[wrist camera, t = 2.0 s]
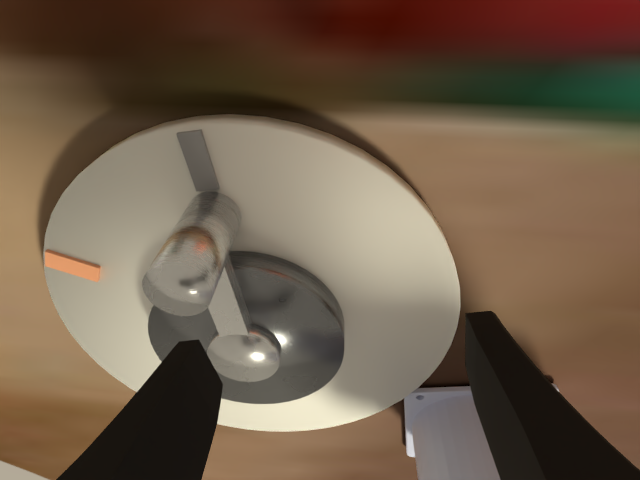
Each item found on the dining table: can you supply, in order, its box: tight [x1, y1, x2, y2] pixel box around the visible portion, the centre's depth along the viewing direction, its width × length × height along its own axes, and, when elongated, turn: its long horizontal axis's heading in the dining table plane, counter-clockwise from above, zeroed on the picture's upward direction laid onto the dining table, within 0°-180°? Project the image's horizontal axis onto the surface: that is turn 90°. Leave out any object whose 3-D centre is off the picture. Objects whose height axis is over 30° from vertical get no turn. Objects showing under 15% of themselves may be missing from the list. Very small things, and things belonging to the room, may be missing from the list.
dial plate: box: [43, 114, 460, 431], centre depth 23 cm, size 22×22×1 cm
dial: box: [142, 191, 345, 404], centre depth 19 cm, size 13×10×5 cm
